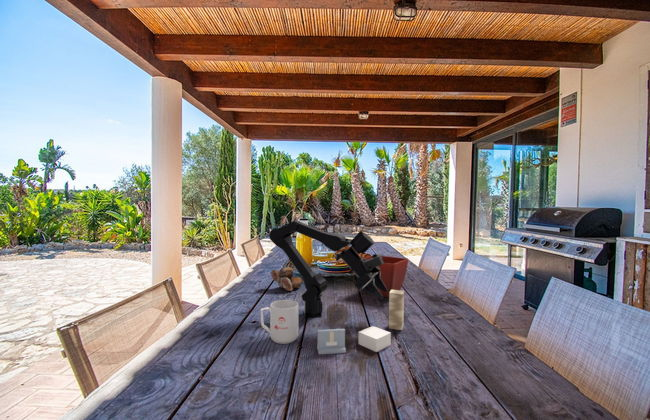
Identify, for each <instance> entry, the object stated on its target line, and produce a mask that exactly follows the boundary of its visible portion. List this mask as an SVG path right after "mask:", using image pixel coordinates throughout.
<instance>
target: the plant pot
mask: <svg viewBox="0 0 650 420" xmlns="http://www.w3.org/2000/svg"><path fill="white" fill-rule="evenodd" d="M381 257H382V260H383V262H384V263H383V264H382V265H381V266H378V267H379V268H380V270H379V271H378V272H380V271H381V279H382V281H383V283H384V285H385V286H386V288H387V292H384V291H382V290H381V289H379V288H378V290H379V291H380V293H381V294H382V296H383V298H389V292H390V291H391V289H392V290H401V289H402V288H403V287H402V286H403V284H404V281H405V278H406V274H407V268H408V265H409V264H408V263H409V258H405V257H395V256H385V255H381ZM361 258H362V259H363V258H365V259H366V260H369V259H372V255H371V256H370V255H369V256H366V257H361ZM401 291H402V290H401Z"/></svg>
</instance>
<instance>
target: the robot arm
mask: <svg viewBox="0 0 650 420" xmlns="http://www.w3.org/2000/svg"><path fill="white" fill-rule="evenodd" d="M296 233H299V234H300V235H303V236H305V237H308V238H310V239H313V240H315V241H317V242H320V244H321V243H322V244H323V245H324V247H326V248H327V249H330V251H333V252H337V253H336V254H335V256H336V258H335V262H338V261H340V260H342V261H343V262H344V263H345V264H346V266H348V267H349V269H350V270H349V271H350V272H351V273H354V274H355V275H356V277H357V280H356V281H355V283H354V287H355V288H356V289H357V291H361V292H363V293H365V294H368V295H371V296H373V297H374V298H375V297H376V298H377V299H380V300H383V298H384V297H383V296H382V294H381V293H380V291H379V290H378V288H379V289H381V290H382V291H384V292H387V288H386V286H385V285H384V283H383V281H382V279H381V271H380V272H378V271H379V270H380V268H379V267H378V266H381V265H382V264H383V263H384V262H383V260H382V257H381V256H382V255H381V254H378V253H374V254H372V255H371V256H372V259H369V260H366V259H365V257H361V256H360V254H365V253H366V252H367V251H368V250H369V249H370V248H372V246H373V245H375V241H374V239H373V238H372V237H371V236H370V235H368V234H367V233H366V232H364V231H363V230H360V231H358V233H357V234H356V235H354V237H353V238H352V239H351V238H346V237H345V236H344V235H343V234H338V233H334V232H326V231H324V230H321V229H318V228H316V227H314V226H311V225H309V224H306V223H304V222H302V221H300V220H293V221H291V222H289V223H288V224H286V225H283V226H280V227H275V228H272V229H271V230H270V231H269V234H268V237H269V240H270V241H271V242H272V243H273V244H274V245H275V246H276V247H278V248H279V249H281V250H282V251H283V252H284V254H285V255H286V256H287V258H288V259H289V261H290V262H291V264H292V265H293V267H294V268H295V269H296V270H297V272H298V273H299V275H300V276H301V277H302V278H301V279H302V280H303V283H304V287H305V290H306V291H305V292H303V293H302V294H301V299H302V301H303V302H304V303H303V304H304V307H303V315H304V317H305V318H315V317H317V318H318V317H322V314H323V302H322V298H321V297H323V294H324V293H326V291H327V289H328V283H327V280H326V279H325V277H324V276H323V275H322V273H321V272H318V273H316V272H314V270H313V269H312V268H311V267H310V265H309V264H308V262H307V261H306V260H305V258H304V257H303V256H302V254H301V252H299V250H298V249H297V247H296V246H295V245H294V242H293V237H292V235H293V234H296ZM347 247H348V248H347ZM341 250H342V251H341ZM339 251H340V252H339ZM362 258H363V259H362Z"/></svg>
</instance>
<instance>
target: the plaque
mask: <svg viewBox="0 0 650 420" xmlns="http://www.w3.org/2000/svg"><path fill="white" fill-rule="evenodd" d="M316 350H317V353H318V355H330V354H331V355H332V354H344V353H347V349H346V329H345V328H333V329H332V328H331V329H317V344H316Z"/></svg>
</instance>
